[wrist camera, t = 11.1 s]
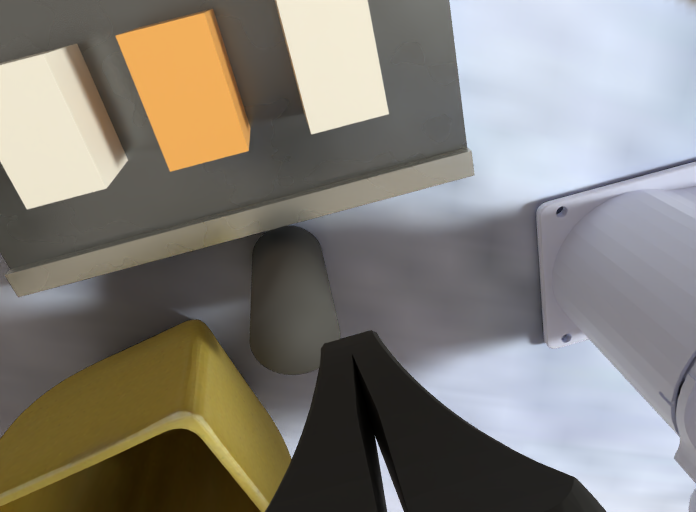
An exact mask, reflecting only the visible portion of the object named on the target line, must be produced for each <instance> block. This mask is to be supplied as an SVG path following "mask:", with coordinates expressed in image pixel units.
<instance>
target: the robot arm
mask: <svg viewBox="0 0 696 512" xmlns="http://www.w3.org/2000/svg"><path fill="white" fill-rule="evenodd" d="M562 206H563V210H562V211H561V213H559V214H556V211H557V210H558V208H560V207H562ZM536 219H537V235H538V251H539V267H540V283H541V300H542V316H543V332H544V341H545V343H546V344H547V346H548V347H549V348H552V349H555V348H560V347H563V346H567V345H571V344H574V343H578V342H582V341H585V340H590V341H591V342H592V343H593V344H594V345H595V346H596V347H597V348H598V349H599V350H600V352H601V353H602V354H603V355H604V356H605V357H606V358H607V359H608V360H609V361H610V362H611V363H612V364H613V366H614V367H615V368H616V369H617V370H618V371H619V372H620V373H621V374H622V375H623V376H624V377H625V379H626V380H627V381H628V382H629V383H630V384H631V385H632V386H633V387H634V388H635V389H636V390H637V392H638V393H639V394H640V395H641V396H642V397H643V398H644V399H645V400H646V401H647V402H648V403H649V404H650V406H651V407H652V408H653V409H654V410H655V411H656V412H657V413H658V414H659V415H660V416H661V417H662V419H663V420H664V421H665V422H666V423H667V424H668V425H669V426H670V427H671V428H672V429H673V430H674V431H675V433H676V434H677V435H678V436H679V437H680V444H679V448H678V450H677V452H676V454H675V456H674V459H675V460H676V461H677V463H678V464H679V465H680V466H681V467H682V468H683V469H684V471H685V472H686V473H687V474H688V475H689V476H690V477H691V479H692V480H693V481H694V482H695V483H696V162H692V163H688V164H685V165H681V166H677V167H673V168H670V169H666V170H662V171H659V172H655V173H651V174H647V175H644V176H640V177H636V178H633V179H629V180H625V181H621V182H618V183H614V184H610V185H607V186H603V187H599V188H596V189H592V190H588V191H584V192H581V193H577V194H573V195H570V196H566V197H562V198H558V199H555V200H551V201H547V202H545V203H543V204H541V205H540V206H539V208H538V210H537V213H536ZM566 334H567V335H566ZM564 335H566V337H564V338H562V337H563V336H564ZM375 437H376V439H377V442H378V445H379V447H380V450H381V453H382V455H383V458H384V460H385V463H386V466H387V468H388V471H389V474H390V476H391V479H392V481H393V484H394V487H395V489H396V492H397V495H398V497H399V500H400V502H401V505H402V508H403V510H404V512H606V511H605V509H604V508H603V507H602V506H601V505H600V503H599V502H598V501H597V500H596V499H595V498H594V497H593V495H592V494H591V493H590V492H589V491H588V490H587V489H586V488H585V487H584V486H583V485H582V484H581V483H580V482H579V481H578V480H577V479H576V478H575V477H573V476H570V475H568V474H565V473H563V472H560V471H558V470H556V469H553V468H551V467H548V466H546V465H543V464H541V463H539V462H536V461H534V460H532V459H530V458H528V457H526V456H524V455H522V454H520V453H518V452H516V451H514V450H512V449H511V448H509V447H507V446H505V445H504V444H502V443H500V442H499V441H497V440H495V439H493V438H492V437H490V436H488V435H487V434H485V433H483V432H481V431H480V430H478V429H477V428H475V427H474V426H472V425H471V424H469V423H468V422H466V421H465V420H463V419H462V418H461V417H459V416H458V415H457V414H455V413H454V412H452V411H451V410H450V409H448V408H447V407H446V406H445V405H443V404H442V403H441V402H440V401H438V400H437V399H436V398H435V397H434V396H433V395H431V394H430V393H429V392H428V391H427V390H426V389H425V388H424V387H422V386H421V385H420V384H419V383H418V382H417V381H416V380H415V379H414V378H413V377H412V376H411V375H410V374H409V373H408V372H407V371H406V370H405V369H404V368H403V367H402V366H401V365H400V363H399V362H398V361H397V360H396V359H395V358H394V357H393V355H392V354H391V353H390V352H389V351H388V349H387V348H386V347H385V345H384V344H383V343H382V341H381V340H380V338H379V336H378V335H377V333H376V332H374V331H372V330H371V331H367V332H364V333H360V334H357V335H353V336H349V337H346V338H342V339H339V340H335V341H332V342H328V343H324V344H323V346H322V347H321V357H320V366H319V372H318V377H317V383H316V387H315V391H314V395H313V399H312V403H311V407H310V410H309V413H308V416H307V420H306V423H305V426H304V429H303V432H302V435H301V437H300V440H299V443H298V445H297V448H296V450H295V453H294V455H293V457H292V460H291V462H290V464H289V467H288V469H287V471H286V473H285V475H284V477H283V479H282V481H281V483H280V485H279V487H278V489H277V491H276V493H275V495H274V497H273V498H272V500H271V502H270V504H269V506H268V507H267V509H266V510H265V512H387V508H386V502H385V496H384V490H383V483H382V477H381V471H380V465H379V459H378V453H377V446H376V440H375ZM689 512H696V489H695V490H694V491H693V493H692V495H691V497H690V502H689Z"/></svg>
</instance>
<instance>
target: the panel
mask: <svg viewBox="0 0 696 512" xmlns="http://www.w3.org/2000/svg"><path fill="white" fill-rule="evenodd" d="M368 5H369V10H370V16H371V21H372V26H373V32H374V37H375V42H376V48H377V53H378V58H379V64H380V69H381V74H382V80H383V85H384V90H385V96H386V101H387V106H388V112H389V114H387V115H384V116H380V117H376V118H372V119H368V120H365V121H361V122H357V123H353V124H349V125H346V126H342V127H338V128H334V129H330V130H327V131H323V132H319V133H315V134H311V132H310V129H309V126H308V123H307V120H306V117H305V114H304V110H303V107H302V103H301V99H300V95H299V91H298V88H297V84H296V80H295V76H294V72H293V69H292V65H291V61H290V57H289V53H288V50H287V46H286V42H285V38H284V34H283V30H282V27H281V23H280V19H279V15H278V11H277V8H276V4H275V0H0V63H3V62H7V61H11V60H15V59H18V58H22V57H26V56H30V55H34V54H38V53H42V52H46V51H50V50H54V49H57V48H61V47H65V46H69V45H73V44H77V45H78V47H79V49H80V51H81V54H82V56H83V58H84V61H85V63H86V65H87V67H88V70H89V72H90V74H91V77H92V79H93V81H94V83H95V86H96V88H97V90H98V93H99V95H100V97H101V100H102V102H103V104H104V106H105V109H106V111H107V113H108V116H109V118H110V120H111V122H112V125H113V127H114V129H115V132H116V134H117V136H118V138H119V141H120V143H121V145H122V148H123V150H124V152H125V154H126V157H127V159H128V161H127V162H126V164H125V165H124V166H123V168H122V169H121V170H120V172H119V173H118V174H117V176H116V177H115V178H114V179H113V181H112V182H111V183H110V185H109V186H108V187H107V189H103V190H99V191H95V192H91V193H88V194H84V195H80V196H76V197H72V198H69V199H65V200H61V201H57V202H53V203H50V204H46V205H42V206H38V207H35V208H31V209H26V207H25V205H24V203H23V202H22V200H21V198H20V196H19V194H18V193H17V191H16V189H15V187H14V185H13V184H12V182H11V180H10V178H9V176H8V175H7V173H6V171H5V169H4V167H3V166H2V164H1V162H0V253H1V254H2V256H3V258H4V259H5V261H6V263H7V264H8V266H9V268H10V270H9V271H8V272H7V273H6V274H5V277H6V278H7V280H8V281H9V283H10V285H11V286H12V288H13V290H14V291H15V293H16V294H17V296H18V297H21V296H25V295H29V294H33V293H36V292H40V291H44V290H48V289H51V288H55V287H59V286H62V285H66V284H70V283H74V282H77V281H81V280H85V279H89V278H92V277H96V276H100V275H104V274H107V273H111V272H115V271H119V270H122V269H126V268H130V267H133V266H137V265H141V264H145V263H148V262H152V261H156V260H160V259H163V258H167V257H171V256H175V255H178V254H182V253H186V252H190V251H193V250H197V249H201V248H205V247H208V246H212V245H216V244H219V243H223V242H227V241H231V240H234V239H238V238H242V237H246V236H249V235H253V234H257V233H261V232H264V231H268V230H272V229H276V228H279V227H283V226H287V225H290V224H294V223H298V222H302V221H305V220H309V219H313V218H317V217H320V216H324V215H328V214H332V213H335V212H339V211H343V210H347V209H350V208H354V207H358V206H362V205H365V204H369V203H373V202H376V201H380V200H384V199H388V198H391V197H395V196H399V195H403V194H406V193H410V192H414V191H418V190H421V189H425V188H429V187H433V186H436V185H440V184H444V183H447V182H451V181H455V180H459V179H462V178H466V177H470V176H474V168H473V159H472V151H471V150H470V149H469V148H467V143H466V135H465V127H464V118H463V110H462V102H461V94H460V86H459V77H458V69H457V61H456V53H455V44H454V36H453V28H452V20H451V12H450V3H449V0H368ZM210 9H213V11H214V14H215V17H216V20H217V23H218V26H219V30H220V33H221V36H222V39H223V42H224V46H225V49H226V52H227V55H228V58H229V61H230V65H231V68H232V71H233V74H234V77H235V81H236V84H237V87H238V90H239V93H240V96H241V100H242V103H243V106H244V109H245V112H246V116H247V119H248V122H249V125H250V141H249V151H247V152H243V153H239V154H236V155H232V156H228V157H224V158H220V159H217V160H213V161H209V162H205V163H201V164H198V165H194V166H190V167H186V168H182V169H179V170H175V171H171V172H170V170H169V168H168V166H167V163H166V161H165V158H164V156H163V153H162V151H161V148H160V146H159V143H158V141H157V138H156V136H155V133H154V131H153V128H152V126H151V123H150V121H149V118H148V116H147V113H146V111H145V108H144V106H143V103H142V101H141V98H140V96H139V93H138V91H137V88H136V86H135V83H134V81H133V79H132V76H131V74H130V71H129V69H128V66H127V64H126V61H125V59H124V56H123V54H122V51H121V49H120V46H119V44H118V41H117V39H116V35H119V34H122V33H124V32H127V31H130V30H133V29H136V28H139V27H143V26H147V25H151V24H155V23H159V22H163V21H167V20H171V19H174V18H178V17H182V16H186V15H190V14H194V13H198V12H202V11H206V10H210Z"/></svg>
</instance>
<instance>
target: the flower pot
mask: <svg viewBox="0 0 696 512" xmlns="http://www.w3.org/2000/svg"><path fill="white" fill-rule="evenodd" d="M291 460H292V459H291V456H290V454H289V451H288V449H287V446H286V444H285V442H284V440H283V438H282V436H281V434H280V432H279V430H278V429H277V427H276V425H275V423H274V422H273V420H272V419H271V417H270V415H269V414H268V413H267V411H266V410H265V408H264V407H263V405H262V404H261V403H260V401H259V400H258V399H257V397H256V396H255V394H254V393H253V391H252V390H251V389H250V387H249V386H248V384H247V383H246V381H245V380H244V379H243V377H242V376H241V374H240V373H239V371H238V370H237V369H236V367H235V366H234V364H233V363H232V361H231V360H230V358H229V357H228V356H227V354H226V353H225V351H224V350H223V348H222V347H221V345H220V344H219V342H218V341H217V340H216V338H215V337H214V335H213V333H212V332H211V330H210V329H209V328H208V327H207V325H206V324H205V323H203V322H202V321H201V320H197V319H196V320H189V321H185V322H183V323H181V324H179V325H177V326H175V327H173V328H170V329H168V330H166V331H164V332H162V333H160V334H158V335H156V336H154V337H151V338H149V339H147V340H145V341H143V342H141V343H139V344H136V345H134V346H132V347H130V348H128V349H125V350H123V351H121V352H119V353H117V354H115V355H112V356H110V357H108V358H105V359H103V360H101V361H99V362H97V363H95V364H93V365H91V366H89V367H87V368H85V369H83V370H81V371H79V372H77V373H76V374H74V375H72V376H70V377H69V378H67V379H65V380H64V381H62V382H61V383H59V384H58V385H56V386H55V387H53V388H52V389H50V390H49V391H47V392H46V393H45V394H44V395H42V396H41V397H40V398H38V399H37V400H36V401H35V402H34V403H32V404H31V405H30V406H29V407H28V408H27V409H26V410H25V411H24V412H23V413H22V414H21V415H20V416H19V417H18V418H17V419H16V420H15V421H14V422H13V424H12V425H11V426H10V427H9V429H8V430H7V431H6V432H5V433H4V435H3V436H2V437H1V438H0V512H265V510H266V509H267V507H268V506H269V504H270V502H271V500H272V498H273V497H274V495H275V493H276V491H277V489H278V487H279V485H280V483H281V481H282V479H283V477H284V475H285V473H286V471H287V469H288V467H289V464H290V462H291Z"/></svg>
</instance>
